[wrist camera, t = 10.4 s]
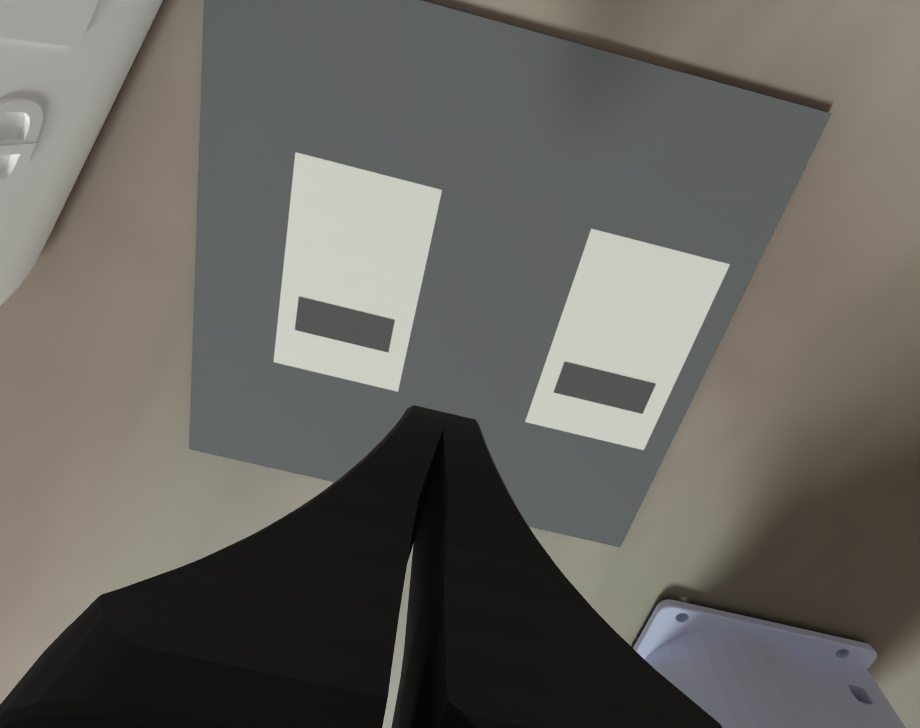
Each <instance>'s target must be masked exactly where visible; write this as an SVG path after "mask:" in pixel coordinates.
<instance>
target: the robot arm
mask: <svg viewBox="0 0 920 728" xmlns="http://www.w3.org/2000/svg"><path fill="white" fill-rule="evenodd" d="M413 543H414V546H413ZM412 546H413V556H412V567H411V578H410V590H409V601H408V612H407V624H406V635H405V646H404V656H403V663H402V671H401V678H400V684H399V690H398V695H397V701H396V706H395V712H394V717H393V723H392V728H905V726H904V725H903V723H902V722H901V720H900V719H899V717H898V715H897V714H896V712H895V711H894V709H893V708H892V706H891V705H890V703H889V702H888V700H887V699H886V697H885V696H884V694H883V693H882V691H881V690H880V688H879V686H878V685H877V683H876V682H875V680H874V679H873V677H872V676H871V674H870V673H869V671H868V668H869V667H870V666H871V665H872V664H873V662H874V661H875V660H876V658H877V653H876V652H875V650H874V649H873V647H872V646H871V645H870V644H867V643H863V642H859V641H854V640H850V639H846V638H841V637H837V636H832V635H828V634H823V633H819V632H814V631H810V630H805V629H801V628H796V627H792V626H788V625H783V624H779V623H774V622H770V621H765V620H761V619H756V618H752V617H747V616H743V615H738V614H734V613H730V612H725V611H721V610H716V609H712V608H707V607H703V606H698V605H694V604H689V603H685V602H680V601H676V600H670V599H667V600H663V601H661V602H660V603H659V604H658V605H657V606H656V608H655V610H654V611H653V613H652V615H651V617H650V618H649V620H648V622H647V624H646V626H645V627H644V629H643V631H642V633H641V635H640V636H639V638H638V640H637V642H636V644H635V645H634V647H633V648H632V647H631V646H630V645H629V644H628V643H627V642H626V641H625V640H624V639H622V638H621V637H620V636H619V635H618V634H617V633H616V632H615V631H614V630H613V629H612V628H611V627H610V626H609V625H608V624H607V623H606V621H605V620H604V619H603V618H602V617H601V616H600V615H599V614H598V613H597V612H596V611H595V610H594V609H593V608H592V607H591V606H590V604H589V603H588V602H587V601H586V600H585V599H584V598H583V597H582V595H581V594H580V593H579V592H578V591H577V590H576V589H575V587H574V586H573V585H572V584H571V583H570V582H569V581H568V579H567V578H566V577H565V576H564V574H563V573H562V572H561V571H560V570H559V568H558V567H557V566H556V565H555V563H554V562H553V561H552V559H551V558H550V556H549V555H548V554H547V552H546V551H545V550H544V548H543V547H542V546H541V544H540V543H539V542H538V540H537V539H536V537H535V536H534V534H533V533H532V531H531V530H530V528H529V526H528V525H527V523H526V522H525V520H524V518H523V516H522V515H521V513H520V511H519V510H518V508H517V506H516V505H515V503H514V501H513V499H512V497H511V496H510V494H509V492H508V490H507V488H506V486H505V484H504V482H503V480H502V478H501V476H500V474H499V472H498V470H497V468H496V466H495V463H494V461H493V459H492V457H491V454H490V452H489V450H488V447H487V445H486V442H485V440H484V437H483V434H482V431H481V429H480V426H479V424H478V422H477V421H476V419H471V418H467V417H463V416H459V415H454V414H450V413H446V412H441V411H437V410H433V409H428V408H424V407H420V406H416V405H413V406H411V407H409V408H407V409H406V411H405V413H404V414H403V416H402V417H401V419H400V420H399V421H398V423H397V424H396V425H395V426H394V427H393V429H392V430H391V431H390V432H389V433H388V434H387V435H386V437H385V438H384V439H383V440H382V441H381V442H380V443H379V444H378V445H377V446H376V447H375V448H374V449H373V450H372V451H371V452H370V453H369V454H368V455H367V456H365V457H364V458H363V459H362V460H361V461H360V462H359V463H358V464H356V465H355V466H354V467H353V468H352V469H350V470H349V471H348V472H347V473H346V474H345V475H343V476H342V477H341V478H340V479H339V480H337V481H336V482H335V483H333V484H332V485H331V486H330V487H328V488H327V489H326V490H324V491H323V492H321V493H320V494H319V495H317V496H316V497H314V498H313V499H311V500H310V501H308V502H307V503H305V504H304V505H302V506H301V507H299V508H298V509H296V510H294V511H293V512H291V513H289V514H288V515H286V516H284V517H283V518H281V519H279V520H278V521H276V522H274V523H273V524H271V525H269V526H268V527H266V528H264V529H262V530H260V531H258V532H257V533H255V534H253V535H251V536H249V537H247V538H245V539H243V540H241V541H239V542H236V543H234V544H232V545H230V546H228V547H226V548H224V549H221V550H219V551H217V552H215V553H213V554H211V555H209V556H207V557H204V558H202V559H200V560H197V561H195V562H192V563H190V564H187V565H185V566H182V567H180V568H177V569H174V570H172V571H169V572H166V573H163V574H160V575H158V576H155V577H152V578H149V579H146V580H143V581H141V582H138V583H135V584H132V585H129V586H127V587H124V588H121V589H118V590H115V591H112V592H109V593H105V594H102V595H100V596H99V597H98V598H97V599H96V600H95V601H94V602H93V603H92V604H91V605H90V606H89V607H88V608H87V609H86V610H85V611H84V612H83V613H82V614H81V615H80V616H79V617H78V618H77V619H76V620H75V621H74V622H73V623H72V624H71V625H70V626H69V627H68V628H66V629H65V631H64V632H63V633H62V634H61V635H60V636H59V637H58V638H57V639H56V640H55V641H54V642H53V643H52V644H51V645H50V646H49V647H48V648H47V649H46V650H45V651H44V653H43V654H42V655H41V656H40V657H39V658H38V660H37V661H36V662H35V663H34V664H33V666H32V667H31V668H30V669H29V671H28V672H27V673H26V674H25V675H24V677H23V678H22V679H21V680H20V681H19V683H18V684H17V685H16V686H15V688H14V689H13V690H12V691H11V692H10V694H9V695H8V696H7V697H6V698H5V700H4V701H3V702H2V703H1V705H0V728H382V725H383V720H384V714H385V709H386V703H387V698H388V690H389V682H390V675H391V667H392V660H393V653H394V646H395V639H396V632H397V625H398V618H399V611H400V605H401V598H402V592H403V586H404V579H405V573H406V567H407V562H408V559H409V556H410V553H411V549H412ZM681 613H682V614H681Z"/></svg>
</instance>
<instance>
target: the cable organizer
mask: <svg viewBox="0 0 920 728" xmlns="http://www.w3.org/2000/svg"><path fill="white" fill-rule="evenodd" d="M162 2H163V0H0V305H1V304H3V303H4V302H5V301H6V300H7V299H8V298H9V297H10V296H11V295H12V294H13V293H14V292H15V291H16V290H17V288H18V287H19V286H20V285H21V284H22V282H23V281H24V280H25V279H26V277H27V276H28V274H29V273H30V272H31V270H32V269H33V267H34V265H35V264H36V262H37V260H38V258H39V256H40V254H41V252H42V250H43V248H44V246H45V244H46V242H47V240H48V238H49V236H50V234H51V232H52V230H53V228H54V226H55V223H56V221H57V219H58V217H59V215H60V213H61V211H62V209H63V207H64V205H65V203H66V201H67V199H68V197H69V194H70V192H71V190H72V188H73V186H74V184H75V182H76V180H77V178H78V176H79V174H80V172H81V170H82V168H83V165H84V163H85V161H86V159H87V157H88V155H89V153H90V151H91V149H92V147H93V145H94V143H95V141H96V139H97V136H98V134H99V132H100V130H101V128H102V126H103V124H104V122H105V120H106V118H107V116H108V114H109V112H110V110H111V107H112V105H113V103H114V101H115V99H116V97H117V95H118V93H119V91H120V89H121V87H122V85H123V83H124V81H125V78H126V76H127V74H128V72H129V70H130V68H131V66H132V64H133V62H134V60H135V58H136V56H137V54H138V51H139V49H140V47H141V45H142V43H143V41H144V39H145V37H146V35H147V33H148V31H149V29H150V27H151V25H152V22H153V20H154V18H155V16H156V14H157V12H158V10H159V8H160V6H161V4H162Z"/></svg>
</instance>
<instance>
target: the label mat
mask: <svg viewBox="0 0 920 728" xmlns="http://www.w3.org/2000/svg"><path fill="white" fill-rule="evenodd" d="M830 115H831V113H828V112H824V111H821V110H817V109H813V108H810V107H806V106H803V105H799V104H795V103H792V102H788V101H784V100H781V99H777V98H774V97H770V96H766V95H763V94H759V93H755V92H752V91H748V90H745V89H741V88H737V87H734V86H730V85H726V84H723V83H719V82H716V81H712V80H708V79H705V78H701V77H697V76H694V75H690V74H687V73H683V72H679V71H676V70H672V69H668V68H665V67H661V66H658V65H654V64H650V63H647V62H643V61H639V60H636V59H632V58H629V57H625V56H621V55H618V54H614V53H610V52H607V51H603V50H599V49H596V48H592V47H589V46H585V45H581V44H578V43H574V42H570V41H567V40H563V39H560V38H556V37H552V36H549V35H545V34H541V33H538V32H534V31H531V30H527V29H523V28H520V27H516V26H512V25H509V24H505V23H502V22H498V21H494V20H491V19H487V18H483V17H480V16H476V15H473V14H469V13H465V12H462V11H458V10H454V9H451V8H447V7H444V6H440V5H436V4H433V3H429V2H425V1H422V0H204V22H203V52H202V82H201V112H200V142H199V172H198V202H197V232H196V262H195V292H194V322H193V352H192V381H191V411H190V441H189V449H192V450H196V451H200V452H205V453H209V454H214V455H218V456H222V457H227V458H231V459H236V460H240V461H244V462H249V463H253V464H257V465H262V466H266V467H271V468H275V469H279V470H284V471H288V472H293V473H297V474H301V475H306V476H310V477H314V478H319V479H323V480H328V481H332V482H336V481H337V480H339V479H340V478H341V477H342V476H343V475H345V474H346V473H347V472H348V471H349V470H350V469H352V468H353V467H354V466H355V465H356V464H358V463H359V462H360V461H361V460H362V459H363V458H364V457H365V456H367V455H368V454H369V453H370V452H371V451H372V450H373V449H374V448H375V447H376V446H377V445H378V444H379V443H380V442H381V441H382V440H383V439H384V438H385V437H386V435H387V434H388V433H389V432H390V431H391V430H392V429H393V427H394V426H395V425H396V424H397V423H398V421H399V420H400V419H401V417H402V416H403V414H404V413H405V411H406V409H407V408H409V407H411V406H413V405H416V406H420V407H424V408H428V409H433V410H437V411H441V412H446V413H450V414H454V415H459V416H463V417H467V418H471V419H476V421H477V422H478V424H479V426H480V429H481V431H482V434H483V437H484V440H485V442H486V445H487V447H488V450H489V452H490V454H491V457H492V459H493V461H494V463H495V466H496V468H497V470H498V472H499V474H500V476H501V478H502V480H503V482H504V484H505V486H506V488H507V490H508V492H509V494H510V496H511V497H512V499H513V501H514V503H515V505H516V506H517V508H518V510H519V511H520V513H521V515H522V516H523V518H524V520H525V522H526V523H527V525H528V526H529V527H534V528H538V529H542V530H547V531H551V532H556V533H560V534H564V535H569V536H573V537H578V538H582V539H586V540H591V541H595V542H599V543H604V544H608V545H613V546H617V547H621V545H622V543H623V540H624V538H625V536H626V534H627V532H628V530H629V528H630V526H631V524H632V522H633V520H634V518H635V516H636V514H637V512H638V510H639V508H640V506H641V503H642V501H643V499H644V497H645V495H646V493H647V491H648V489H649V487H650V485H651V483H652V481H653V479H654V477H655V475H656V473H657V471H658V469H659V466H660V464H661V462H662V460H663V458H664V456H665V454H666V452H667V450H668V448H669V446H670V444H671V442H672V440H673V438H674V436H675V434H676V432H677V429H678V427H679V425H680V423H681V421H682V419H683V417H684V415H685V413H686V411H687V409H688V407H689V405H690V403H691V401H692V399H693V397H694V395H695V393H696V390H697V388H698V386H699V384H700V382H701V380H702V378H703V376H704V374H705V372H706V370H707V368H708V366H709V364H710V362H711V360H712V358H713V356H714V353H715V351H716V349H717V347H718V345H719V343H720V341H721V339H722V337H723V335H724V333H725V331H726V329H727V327H728V325H729V323H730V321H731V319H732V316H733V314H734V312H735V310H736V308H737V306H738V304H739V302H740V300H741V298H742V296H743V294H744V292H745V290H746V288H747V286H748V284H749V282H750V279H751V277H752V275H753V273H754V271H755V269H756V267H757V265H758V263H759V261H760V259H761V257H762V255H763V253H764V251H765V249H766V247H767V245H768V242H769V240H770V238H771V236H772V234H773V232H774V230H775V228H776V226H777V224H778V222H779V220H780V218H781V216H782V214H783V212H784V210H785V208H786V205H787V203H788V201H789V199H790V197H791V195H792V193H793V191H794V189H795V187H796V185H797V183H798V181H799V179H800V177H801V175H802V173H803V171H804V169H805V166H806V164H807V162H808V160H809V158H810V156H811V154H812V152H813V150H814V148H815V146H816V144H817V142H818V140H819V138H820V136H821V134H822V132H823V129H824V127H825V125H826V123H827V121H828V119H829V117H830Z"/></svg>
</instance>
